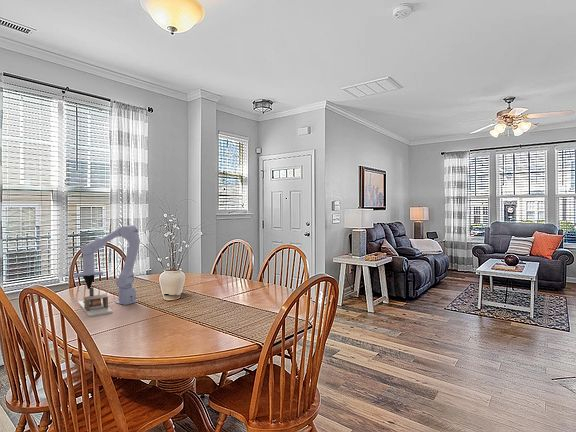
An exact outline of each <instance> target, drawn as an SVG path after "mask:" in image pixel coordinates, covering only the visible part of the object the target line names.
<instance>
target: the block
mask: <svg viewBox="0 0 576 432" xmlns="http://www.w3.org/2000/svg"><path fill="white" fill-rule="evenodd" d="M101 301H102V299H96V300H91V307H93V306H100V305H101Z"/></svg>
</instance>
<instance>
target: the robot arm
mask: <svg viewBox="0 0 576 432" xmlns="http://www.w3.org/2000/svg"><path fill="white" fill-rule="evenodd" d="M118 237H122V238H123V239H125V240H126V241H127V242H128V247H127V253H126V255H125V261H124V264H123V266H122V267H123V269H122V271H121V272H120V273H119V275H118V277H117V279H116V282H115V284H116V286H117V287H118V295H117V296H118V300H116V301H115V303H114V304H119V305H124V306H126V305H130V304H133V303H134V304H135V303H137V302H138V301H137V291H136V289H135V288H133V284H134V281H135V278H134V275H135V273H134V267H135V264H136V260H137V255H138V252H139V247H140V243H141V240H140V236H139V230H138V228H137V227H136V226H134V225H133V224H132V225H126V226H125V225H124V226H121V227H118V228H117V229H115V230H114V231H112V232H110V233H108V234H107V235H105V236H104V237H101V236H98V237H95V239H93V240H92V241H89V242H88V243H87V244H83V245H82V246H81V247H80V252H81V254H82V272H80V273H74V274H73V278H74V279H77V278H83V279H84V283H85V285H86V288H87V290H89V288H92V284H93V282H94V280H95V276H103V275H104V271H102V270H101V271H95V253H96V252H97V251H99V250H101V249H102V248H103V247H104V248H105V247H106V245H107V243H108V242H110V241H112V240H114V239H116V238H118Z"/></svg>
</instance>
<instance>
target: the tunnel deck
mask: <svg viewBox="0 0 576 432" xmlns="http://www.w3.org/2000/svg"><path fill="white" fill-rule="evenodd" d="M83 298H84V299H83V300H78V301H77V304H78V305H79V306H80V308H81V307H82V308H81V309H82V310H83V312H84V313H85V314H86V315H87V317H89V318H90V317H96V316H102V315H103V316H104V315H107V314H112V313H113V310H112V309H111V308H110V307H109V296H108V295H106V294H105V293H104V294H102V293H101V294H98V295H96V294H94V296H90V295H89V296H88V295H87V296H84V297H83ZM96 299H101V303H102V305H104V308H99V309H92V310H90V304H89V302H90V300H96Z"/></svg>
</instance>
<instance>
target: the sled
mask: <svg viewBox="0 0 576 432" xmlns="http://www.w3.org/2000/svg"><path fill="white" fill-rule="evenodd" d="M88 291H89V296H95V294H94V293H95V292H94V287H91V288H89V289H88ZM89 304H90V310H92V309H99V308H104V305H102V303H101V305H100V306H93V307H91V300H90V302H89Z"/></svg>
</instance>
